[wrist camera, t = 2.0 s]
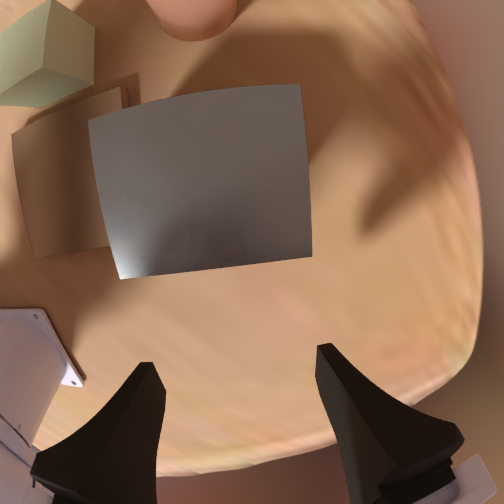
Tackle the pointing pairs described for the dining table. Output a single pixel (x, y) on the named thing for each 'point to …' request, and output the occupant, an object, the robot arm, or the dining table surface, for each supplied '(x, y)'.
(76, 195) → the pad
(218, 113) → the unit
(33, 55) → the sage block
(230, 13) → the terracotta cylinder
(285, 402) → the dining table surface
